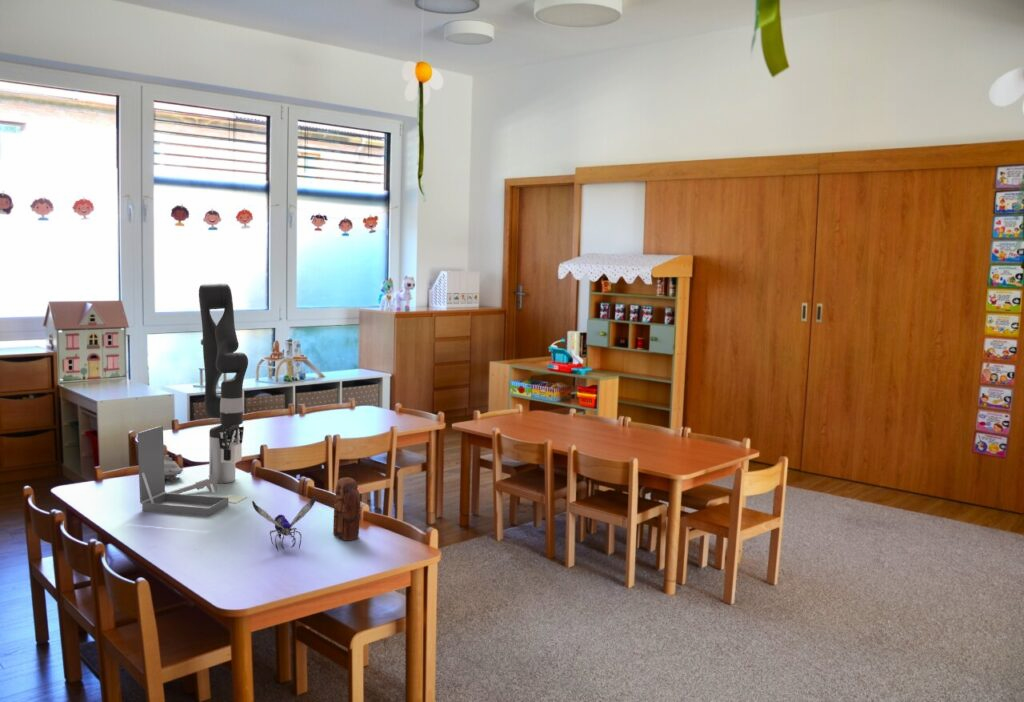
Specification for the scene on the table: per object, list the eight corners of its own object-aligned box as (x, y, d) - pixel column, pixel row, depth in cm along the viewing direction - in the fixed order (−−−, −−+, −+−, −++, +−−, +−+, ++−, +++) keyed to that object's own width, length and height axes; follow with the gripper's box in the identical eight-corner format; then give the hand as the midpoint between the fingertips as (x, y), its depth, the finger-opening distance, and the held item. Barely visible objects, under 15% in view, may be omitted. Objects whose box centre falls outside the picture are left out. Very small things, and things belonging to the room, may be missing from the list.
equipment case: (160, 500, 281) (160, 425, 278) (228, 506, 277) (228, 430, 275) (137, 511, 268) (137, 432, 265) (208, 517, 264) (208, 437, 262)
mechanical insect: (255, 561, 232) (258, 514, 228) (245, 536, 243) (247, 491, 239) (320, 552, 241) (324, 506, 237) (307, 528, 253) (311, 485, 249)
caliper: (215, 491, 297) (216, 473, 296) (216, 491, 296) (217, 474, 295) (155, 499, 284) (155, 480, 283) (156, 499, 283) (156, 481, 282)
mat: (225, 496, 289) (225, 494, 289) (247, 498, 288) (247, 496, 288) (214, 502, 281) (214, 500, 281) (236, 504, 280) (236, 502, 280)
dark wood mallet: (327, 532, 254) (328, 475, 253) (346, 528, 258) (347, 473, 257) (344, 542, 245) (345, 484, 243) (363, 539, 249) (365, 481, 247)
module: (228, 459, 286) (228, 442, 286) (241, 460, 285) (241, 443, 285) (220, 462, 281) (221, 445, 280) (234, 463, 280) (234, 446, 280)
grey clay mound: (156, 483, 313) (160, 455, 315) (186, 484, 313) (190, 456, 315) (141, 481, 302) (145, 452, 304) (172, 483, 301) (176, 454, 303)
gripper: (231, 406, 289) (231, 453, 291) (210, 412, 275) (210, 462, 277) (251, 407, 288) (250, 455, 290) (231, 414, 274) (231, 463, 275)
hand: (231, 458), depth 283 cm, fingers closed on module, 5 cm apart
